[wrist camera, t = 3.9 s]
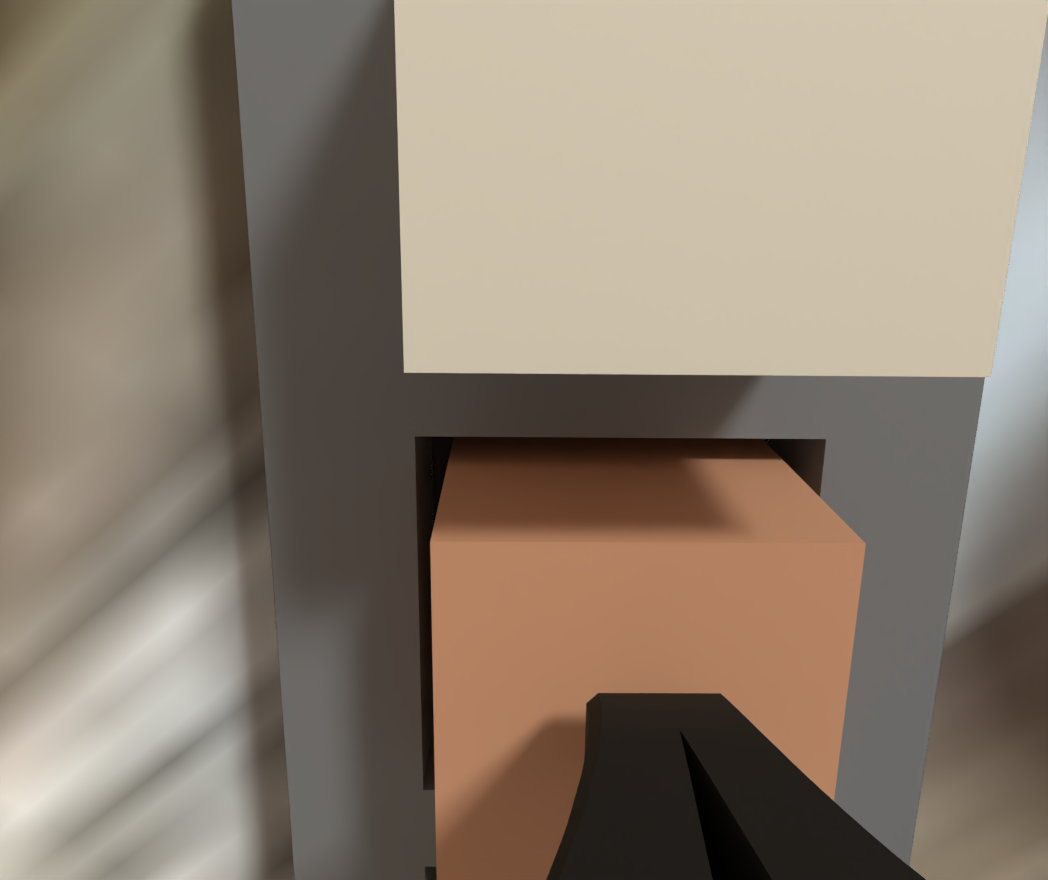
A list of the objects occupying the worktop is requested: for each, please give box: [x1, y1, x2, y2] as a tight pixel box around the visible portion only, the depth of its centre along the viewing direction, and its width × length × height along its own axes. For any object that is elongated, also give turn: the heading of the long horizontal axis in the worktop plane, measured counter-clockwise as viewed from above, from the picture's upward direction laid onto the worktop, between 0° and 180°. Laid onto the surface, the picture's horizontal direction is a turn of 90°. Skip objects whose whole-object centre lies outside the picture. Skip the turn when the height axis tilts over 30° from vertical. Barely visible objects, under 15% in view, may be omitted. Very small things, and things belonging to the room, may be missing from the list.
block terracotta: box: [430, 437, 866, 880], centre depth 12 cm, size 4×4×4 cm
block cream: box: [394, 0, 1048, 377], centre depth 8 cm, size 4×4×4 cm
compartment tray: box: [232, 0, 985, 880], centre depth 13 cm, size 20×9×2 cm, turn 179°
